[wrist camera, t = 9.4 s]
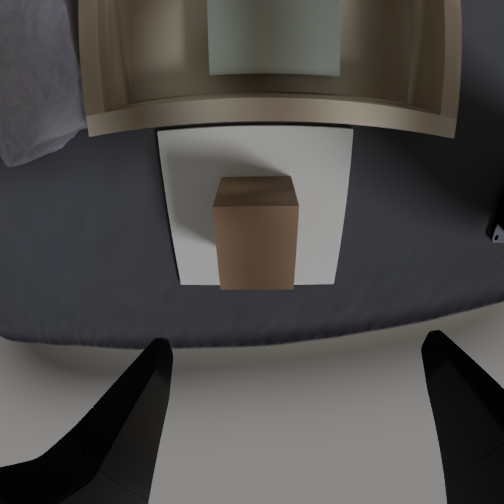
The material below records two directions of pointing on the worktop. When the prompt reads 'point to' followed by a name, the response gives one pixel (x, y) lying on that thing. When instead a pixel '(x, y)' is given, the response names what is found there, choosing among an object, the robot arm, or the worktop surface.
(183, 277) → the grey mat
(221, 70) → the slot box
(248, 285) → the walnut block
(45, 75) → the stone block
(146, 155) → the worktop surface
